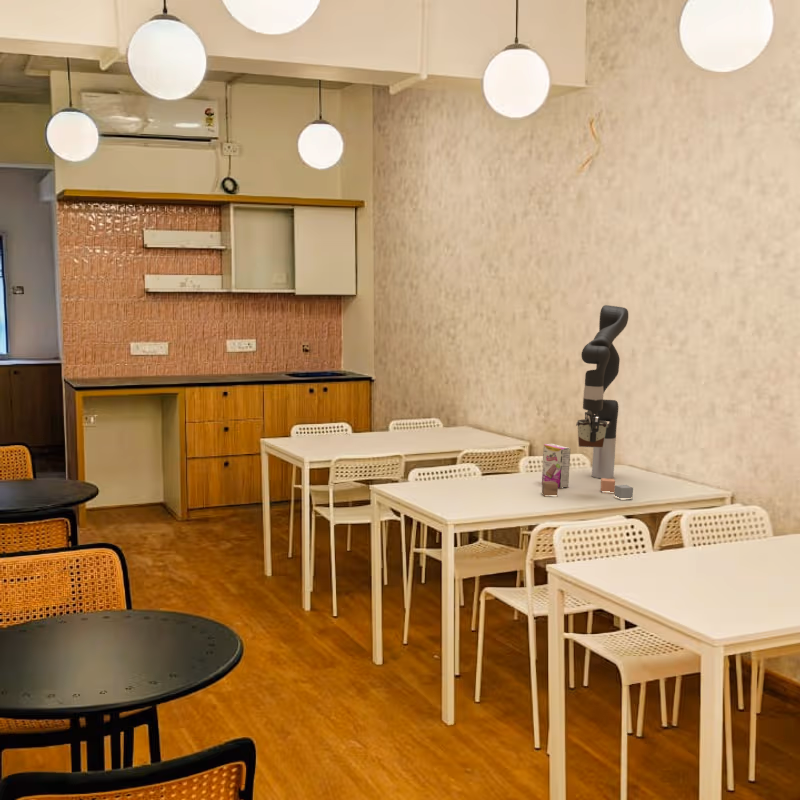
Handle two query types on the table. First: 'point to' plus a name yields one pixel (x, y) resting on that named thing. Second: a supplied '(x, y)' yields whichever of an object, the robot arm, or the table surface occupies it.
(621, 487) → the slate grey block
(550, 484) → the walnut block
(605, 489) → the terracotta block
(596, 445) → the food container
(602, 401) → the robot arm
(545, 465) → the candy bar box
